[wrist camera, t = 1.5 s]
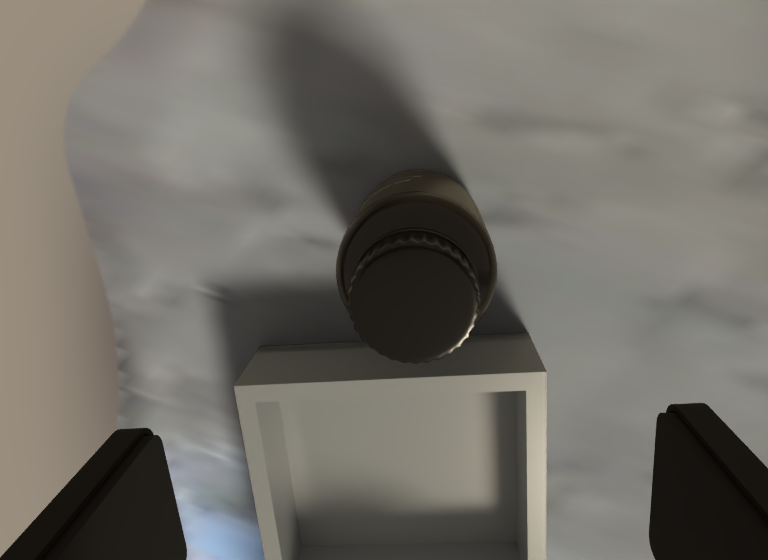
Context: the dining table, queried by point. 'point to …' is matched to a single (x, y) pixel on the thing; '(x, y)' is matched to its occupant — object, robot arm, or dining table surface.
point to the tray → (397, 451)
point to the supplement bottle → (416, 267)
